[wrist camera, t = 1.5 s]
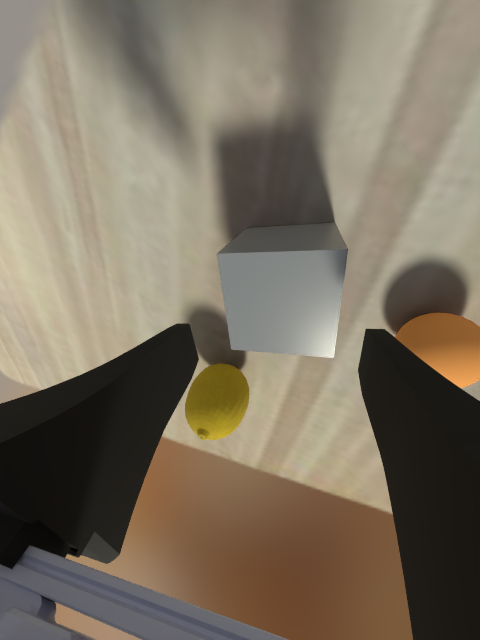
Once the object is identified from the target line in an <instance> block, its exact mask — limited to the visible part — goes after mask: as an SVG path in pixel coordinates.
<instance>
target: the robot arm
mask: <svg viewBox="0 0 480 640" xmlns="http://www.w3.org/2000/svg"><path fill="white" fill-rule="evenodd" d="M198 360H199V358H198V354H197V350H196V347H195V343H194V339H193V335H192V332H191V328H190V324H175V325H173V326H171V327H169V328H167V329H166V330H164V331H162V332H160V333H159V334H157V335H155V336H154V337H152V338H150V339H148V340H147V341H145V342H143V343H142V344H140V345H138V346H137V347H135V348H133V349H131V350H129V351H128V352H126V353H124V354H122V355H120V356H118V357H117V358H115V359H113V360H111V361H109V362H107V363H105V364H103V365H101V366H99V367H97V368H95V369H93V370H90V371H88V372H86V373H84V374H82V375H79V376H77V377H74V378H72V379H69V380H67V381H64V382H62V383H59V384H57V385H54V386H52V387H49V388H47V389H44V390H41V391H38V392H36V393H33V394H30V395H27V396H23V397H20V398H17V399H14V400H11V401H8V402H5V403H1V404H0V640H96V639H94V638H92V637H89V636H87V635H85V634H82V633H80V632H78V631H75V630H72V629H70V628H68V627H65V626H63V625H60V624H57V623H56V621H55V613H56V604H55V602H57V603H59V604H61V605H64V606H66V607H69V608H71V609H73V610H75V611H77V612H80V613H82V614H84V615H87V616H89V617H92V618H94V619H96V620H98V621H101V622H103V623H105V624H107V625H110V626H112V627H114V628H117V629H119V630H121V631H124V632H126V633H128V634H131V635H133V636H135V637H138V638H140V639H142V640H288V639H285V638H283V637H280V636H277V635H274V634H272V633H269V632H266V631H263V630H261V629H258V628H255V627H252V626H250V625H246V624H244V623H241V622H239V621H236V620H233V619H230V618H228V617H225V616H222V615H220V614H217V613H214V612H211V611H209V610H206V609H203V608H200V607H197V606H195V605H192V604H189V603H187V602H184V601H181V600H178V599H176V598H173V597H170V596H167V595H165V594H162V593H159V592H156V591H154V590H151V589H148V588H145V587H143V586H140V585H137V584H134V583H131V582H129V581H126V580H124V579H120V578H118V577H115V576H112V575H110V574H107V573H104V572H102V571H99V570H96V569H93V568H91V567H88V566H85V565H82V564H80V563H77V562H74V561H71V560H69V559H66V558H65V557H66V555H67V554H69V555H72V556H75V557H79V556H80V555H83V556H86V557H89V558H92V559H94V560H98V561H100V562H103V563H106V564H107V563H110V562H111V561H113V560H114V559H115V558H116V557H118V556H119V554H120V551H121V548H122V545H123V541H124V538H125V535H126V532H127V528H128V525H129V522H130V519H131V516H132V513H133V510H134V507H135V504H136V501H137V498H138V495H139V492H140V490H141V487H142V484H143V481H144V478H145V476H146V473H147V471H148V468H149V466H150V463H151V460H152V458H153V455H154V453H155V450H156V448H157V446H158V443H159V441H160V439H161V436H162V434H163V431H164V429H165V427H166V425H167V423H168V421H169V420H170V418H171V416H172V414H173V412H174V410H175V408H176V407H177V405H178V403H179V401H180V399H181V397H182V396H183V394H184V392H185V390H186V388H187V386H188V384H189V383H190V381H191V379H192V376H193V374H194V371H195V368H196V366H197V363H198ZM358 372H359V379H360V385H361V391H362V396H363V399H364V402H365V406H366V409H367V412H368V416H369V419H370V422H371V425H372V429H373V432H374V435H375V438H376V442H377V445H378V448H379V451H380V455H381V459H382V463H383V466H384V471H385V476H386V481H387V486H388V491H389V496H390V501H391V506H392V512H393V517H394V522H395V528H396V533H397V539H398V545H399V551H400V557H401V562H402V569H403V575H404V580H405V587H406V594H407V600H408V606H409V614H410V620H411V627H412V634H413V640H480V401H479V400H477V399H476V398H474V397H473V396H471V395H469V394H468V393H467V392H465V391H464V390H462V389H461V388H459V387H458V386H457V385H455V384H454V383H452V382H451V381H449V380H448V379H447V378H445V377H444V376H442V375H441V374H440V373H438V372H437V371H436V370H434V369H433V368H432V367H431V366H429V365H428V364H427V363H425V362H424V361H423V360H422V359H420V358H419V357H418V356H417V355H415V354H414V353H413V352H412V351H410V350H409V349H408V348H407V347H406V346H404V345H403V344H402V343H401V342H400V341H398V340H397V339H396V338H395V337H394V336H392V335H391V334H390V333H389V332H387V331H386V330H385V329H366V331H365V336H364V341H363V347H362V352H361V357H360V363H359V368H358Z"/></svg>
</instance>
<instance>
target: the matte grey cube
mask: <svg viewBox="0 0 480 640" xmlns="http://www.w3.org/2000/svg"><path fill="white" fill-rule="evenodd" d="M347 253H348V248H347V246H346V244H345V242H344V240H343V238H342V236H341V234H340V232H339V230H338V227H337V225H336V223H318V224H302V225H286V226H270V227H254V228H246V229H245V230H244V231H243V232H241V233H240V234H239V235H238V236H237V237H236V238H234V239H233V240H232V241H231V242H230V243H229V244H227V245H226V246H225V247H224V248H223V249H222V250H220V251H219V252H218V253H217V259H218V265H219V272H220V279H221V285H222V292H223V299H224V305H225V312H226V318H227V325H228V332H229V338H230V345H231V350H244V351H256V352H269V353H281V354H293V355H306V356H318V357H330V358H334V351H335V344H336V336H337V329H338V321H339V314H340V306H341V298H342V291H343V283H344V276H345V268H346V260H347Z"/></svg>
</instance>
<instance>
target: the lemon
mask: <svg viewBox="0 0 480 640" xmlns="http://www.w3.org/2000/svg"><path fill="white" fill-rule="evenodd" d="M248 402H249V387H248V383H247V380H246V378H245V377H244V375H243V374H242V372H241V371H240V370H239V369H237V368H236V367H234V366H232V365H229V364H223V363H219V364H214V365H211V366H209V367H207V368H205V369H204V370H203V371H202V372H201V373H200V374H199V375H198V376H197V377H196V378H195V380H194V381H193V383H192V385H191V387H190V390H189V392H188V395H187V399H186V404H185V415H186V419H187V422H188V424H189V426H190V427H191V429H192V430H193V431H194V432H195V433H196V434H197V435H198V437H199V438H200V439H202V440H206V439H209V440H215V439H221V438H223V437H226V436H228V435H229V434H231V433H232V432H233V431H234V430H235V429H236V428H237V427H238V425H239V424H240V422H241V421H242V419H243V417H244V414H245V412H246V410H247V407H248Z"/></svg>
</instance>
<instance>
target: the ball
mask: <svg viewBox="0 0 480 640" xmlns="http://www.w3.org/2000/svg"><path fill="white" fill-rule="evenodd" d="M395 338H396V339H397V340H398V341H400V342H401V343H402V344H403V345H404V346H406V347H407V348H408V349H409V350H410V351H412V352H413V353H414V354H415V355H417V356H418V357H419V358H420V359H422V360H423V361H424V362H425V363H427V364H428V365H429V366H431V367H432V368H433V369H434V370H436V371H437V372H438V373H440V374H441V375H442V376H444V377H445V378H447V379H448V380H449V381H451V382H452V383H454V384H455V385H457V386H458V387H459V388H462V387H466V386H469V385H471V384H473V383H475V382H477V381H478V380H480V327H479V326H478V325H476V324H475V323H473V322H472V321H470V320H468V319H466V318H464V317H461V316H458V315H454V314H449V313H429V314H424V315H421V316H418V317H415V318H413V319H411V320H410V321H408V322H407V323H406V324H405V325H403V326H402V327H401V329H400V330H399V331H398V333H397V335H396V337H395Z"/></svg>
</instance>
